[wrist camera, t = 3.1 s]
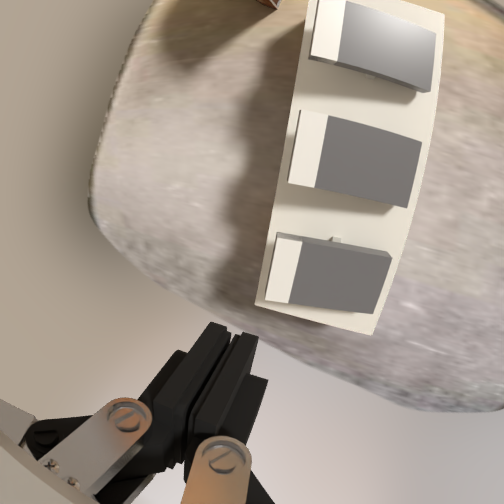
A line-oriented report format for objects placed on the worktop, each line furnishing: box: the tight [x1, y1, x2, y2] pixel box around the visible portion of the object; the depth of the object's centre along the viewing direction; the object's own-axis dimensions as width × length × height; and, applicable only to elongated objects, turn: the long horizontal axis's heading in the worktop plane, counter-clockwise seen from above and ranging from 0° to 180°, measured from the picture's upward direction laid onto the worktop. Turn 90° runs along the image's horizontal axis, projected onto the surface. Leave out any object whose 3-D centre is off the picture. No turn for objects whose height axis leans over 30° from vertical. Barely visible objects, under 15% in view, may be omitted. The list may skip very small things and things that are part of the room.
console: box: [255, 0, 444, 336], centre depth 23 cm, size 10×26×7 cm, turn 170°
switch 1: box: [308, 0, 436, 93], centre depth 16 cm, size 8×4×1 cm, turn 80°
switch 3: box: [265, 232, 392, 314], centre depth 22 cm, size 8×4×1 cm, turn 80°
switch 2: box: [287, 109, 422, 208], centre depth 19 cm, size 8×4×1 cm, turn 80°
